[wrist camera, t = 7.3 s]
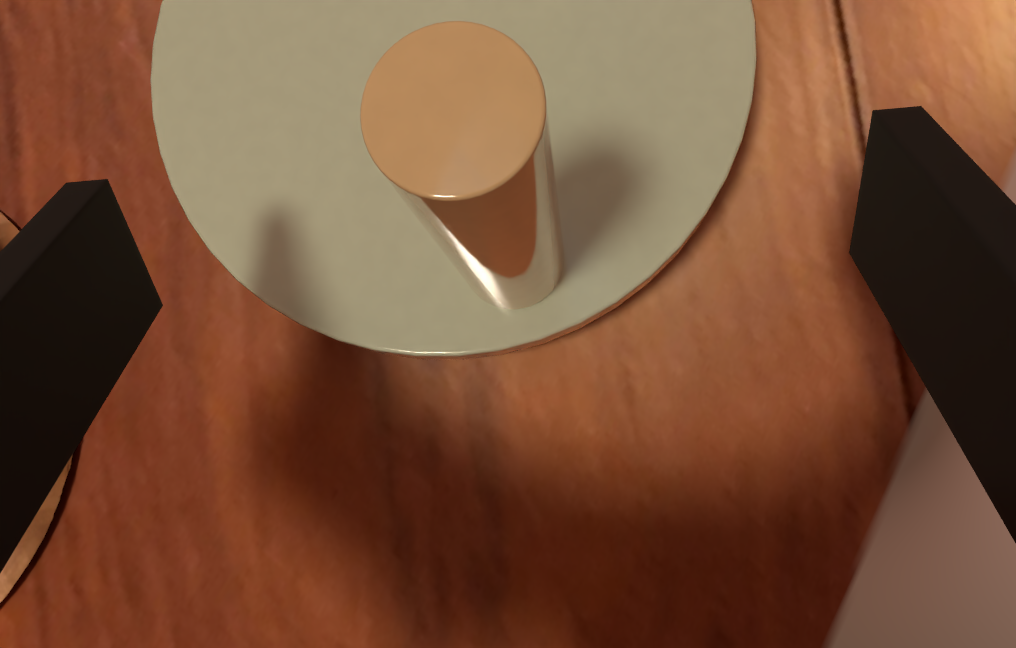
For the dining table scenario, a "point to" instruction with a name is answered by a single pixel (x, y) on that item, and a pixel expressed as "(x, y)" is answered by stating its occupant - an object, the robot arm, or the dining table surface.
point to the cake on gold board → (3, 233)
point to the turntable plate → (352, 219)
